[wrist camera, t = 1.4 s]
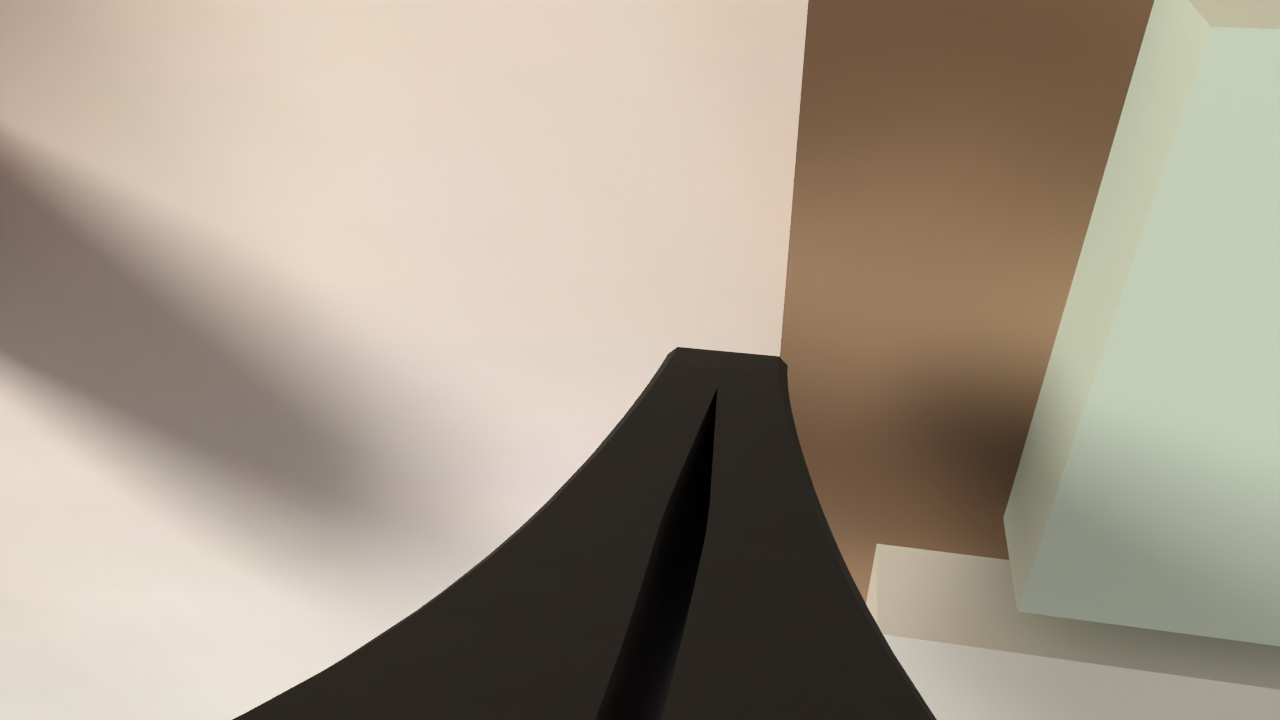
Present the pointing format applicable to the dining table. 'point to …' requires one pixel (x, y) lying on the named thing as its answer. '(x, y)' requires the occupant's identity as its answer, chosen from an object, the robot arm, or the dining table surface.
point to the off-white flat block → (1051, 652)
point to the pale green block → (1169, 354)
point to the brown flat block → (939, 249)
